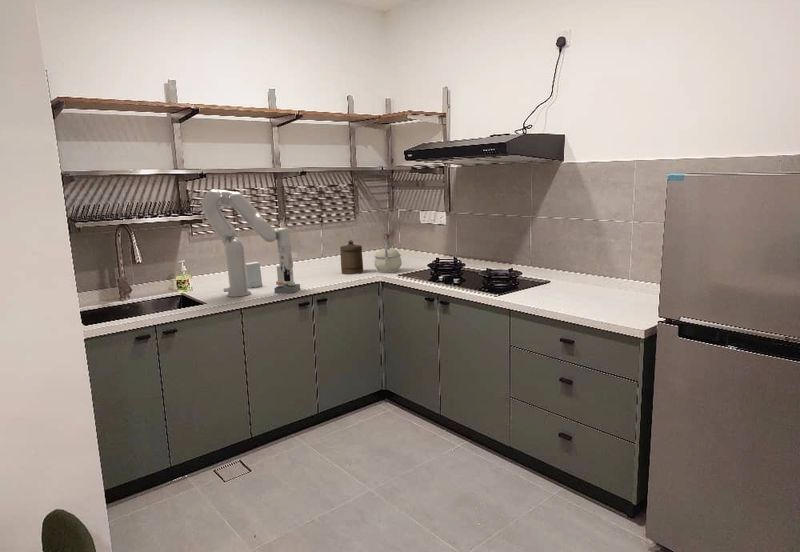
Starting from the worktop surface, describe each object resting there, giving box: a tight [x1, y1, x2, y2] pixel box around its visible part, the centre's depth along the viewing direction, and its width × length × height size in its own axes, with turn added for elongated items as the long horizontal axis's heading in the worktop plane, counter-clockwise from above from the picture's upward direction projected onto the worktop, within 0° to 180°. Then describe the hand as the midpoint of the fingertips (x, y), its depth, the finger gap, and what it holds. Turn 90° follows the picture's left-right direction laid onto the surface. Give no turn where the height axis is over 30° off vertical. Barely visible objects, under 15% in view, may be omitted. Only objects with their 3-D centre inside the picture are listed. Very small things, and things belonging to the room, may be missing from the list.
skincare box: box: [245, 261, 263, 289], centre depth 318 cm, size 8×6×15 cm
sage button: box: [288, 281, 296, 286], centre depth 295 cm, size 4×4×2 cm
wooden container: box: [339, 239, 364, 275], centre depth 355 cm, size 15×15×22 cm
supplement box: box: [276, 265, 295, 286], centre depth 316 cm, size 7×7×13 cm
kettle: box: [374, 233, 403, 274], centre depth 350 cm, size 25×18×25 cm
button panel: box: [273, 283, 301, 294], centre depth 298 cm, size 11×12×3 cm
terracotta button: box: [275, 280, 283, 286], centre depth 294 cm, size 4×4×2 cm
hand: (287, 281), depth 301 cm, fingers closed
